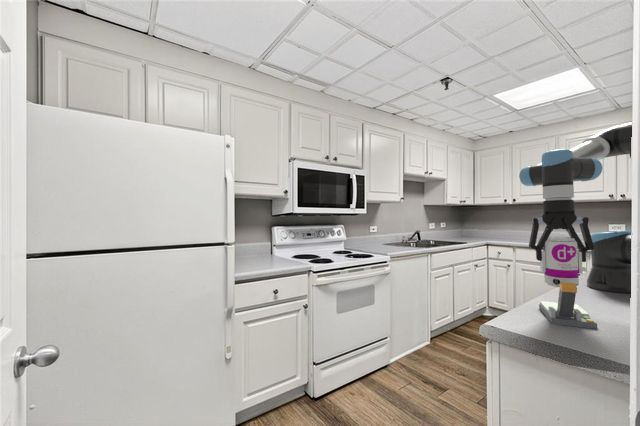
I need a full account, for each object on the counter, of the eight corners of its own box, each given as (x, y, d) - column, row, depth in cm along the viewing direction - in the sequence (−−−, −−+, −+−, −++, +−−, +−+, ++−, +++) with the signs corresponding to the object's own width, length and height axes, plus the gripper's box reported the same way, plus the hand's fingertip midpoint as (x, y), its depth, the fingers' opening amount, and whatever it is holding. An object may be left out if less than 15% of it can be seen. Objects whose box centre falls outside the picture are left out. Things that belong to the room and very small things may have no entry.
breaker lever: (572, 314, 83) (577, 283, 78) (575, 319, 81) (580, 288, 77) (553, 312, 84) (557, 282, 80) (555, 317, 83) (559, 287, 79)
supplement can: (582, 289, 83) (581, 238, 83) (547, 287, 87) (545, 238, 87) (574, 283, 90) (572, 236, 90) (542, 281, 94) (540, 236, 94)
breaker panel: (577, 312, 90) (577, 299, 90) (597, 328, 78) (596, 314, 78) (539, 308, 95) (538, 296, 95) (551, 323, 82) (551, 310, 82)
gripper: (597, 198, 87) (599, 271, 87) (515, 201, 97) (518, 267, 96) (608, 197, 81) (611, 276, 80) (520, 200, 90) (522, 272, 90)
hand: (560, 271), depth 88 cm, fingers closed on supplement can, 8 cm apart
